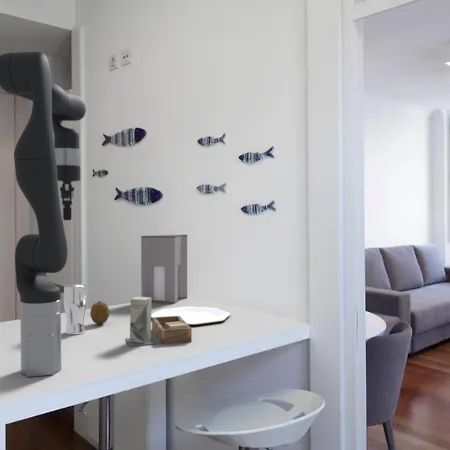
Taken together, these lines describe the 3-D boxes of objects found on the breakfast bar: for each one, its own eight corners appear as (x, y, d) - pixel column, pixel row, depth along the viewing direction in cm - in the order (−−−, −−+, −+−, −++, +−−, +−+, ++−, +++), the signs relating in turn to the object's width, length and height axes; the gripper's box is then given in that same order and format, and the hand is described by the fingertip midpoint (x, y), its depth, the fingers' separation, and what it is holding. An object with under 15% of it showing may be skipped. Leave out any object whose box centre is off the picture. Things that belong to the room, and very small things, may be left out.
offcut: (186, 332, 149) (186, 324, 149) (170, 334, 146) (170, 326, 146) (180, 329, 153) (180, 321, 153) (164, 331, 151) (164, 322, 151)
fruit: (113, 323, 169) (113, 300, 169) (99, 327, 164) (99, 303, 164) (100, 321, 173) (100, 298, 172) (86, 325, 167) (86, 301, 167)
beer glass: (78, 328, 162) (78, 283, 162) (91, 332, 158) (90, 285, 157) (59, 332, 157) (59, 285, 156) (72, 336, 152) (71, 288, 152)
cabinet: (185, 297, 219) (185, 234, 218) (195, 301, 211) (195, 235, 210) (141, 302, 208) (141, 235, 207) (150, 306, 200) (150, 237, 199)
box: (129, 342, 145) (129, 298, 144) (136, 338, 149) (135, 296, 149) (145, 343, 143) (145, 299, 143) (152, 339, 148) (152, 297, 147)
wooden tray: (191, 341, 147) (191, 328, 147) (161, 344, 144) (161, 330, 144) (179, 327, 164) (179, 315, 164) (152, 329, 161) (152, 317, 161)
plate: (235, 312, 190) (235, 308, 189) (217, 330, 163) (217, 325, 163) (168, 309, 196) (168, 305, 196) (139, 324, 169) (139, 320, 169)
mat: (156, 344, 144) (156, 343, 144) (128, 346, 141) (128, 345, 141) (152, 337, 151) (152, 336, 151) (125, 339, 149) (125, 338, 149)
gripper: (80, 163, 140) (81, 220, 140) (80, 167, 153) (80, 219, 154) (52, 162, 137) (53, 220, 138) (54, 166, 151) (54, 219, 152)
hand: (67, 219), depth 146 cm, fingers open, 8 cm apart
